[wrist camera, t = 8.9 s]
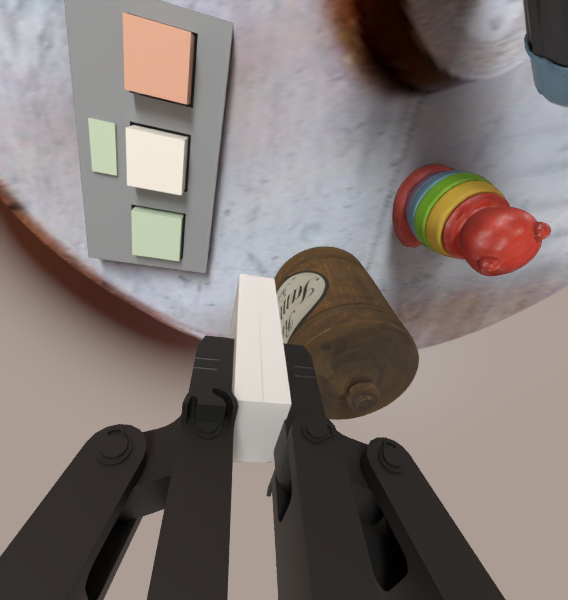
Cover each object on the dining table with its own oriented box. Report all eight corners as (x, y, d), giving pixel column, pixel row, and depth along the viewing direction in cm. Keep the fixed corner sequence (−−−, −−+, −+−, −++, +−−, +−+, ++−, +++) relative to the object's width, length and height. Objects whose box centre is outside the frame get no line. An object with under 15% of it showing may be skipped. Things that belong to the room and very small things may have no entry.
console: (76, -20, 29) (59, -32, 26) (233, 28, 32) (233, 21, 29) (97, 247, 42) (87, 258, 39) (207, 263, 45) (205, 274, 42)
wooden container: (276, 242, 45) (304, 345, 26) (376, 249, 47) (466, 348, 29) (266, 327, 52) (282, 454, 34) (353, 330, 55) (411, 449, 37)
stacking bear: (404, 250, 48) (480, 321, 33) (376, 194, 43) (451, 247, 28) (473, 207, 46) (588, 263, 31) (452, 142, 40) (578, 171, 26)
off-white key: (133, 124, 33) (125, 127, 31) (188, 137, 34) (184, 140, 32) (134, 178, 36) (127, 185, 33) (185, 188, 37) (181, 195, 34)
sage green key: (138, 203, 39) (131, 210, 36) (185, 211, 40) (181, 219, 37) (138, 244, 41) (132, 254, 39) (182, 251, 42) (179, 261, 40)
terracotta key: (132, 19, 29) (122, 12, 26) (194, 37, 30) (190, 32, 27) (133, 89, 32) (124, 89, 29) (190, 103, 33) (186, 104, 30)
